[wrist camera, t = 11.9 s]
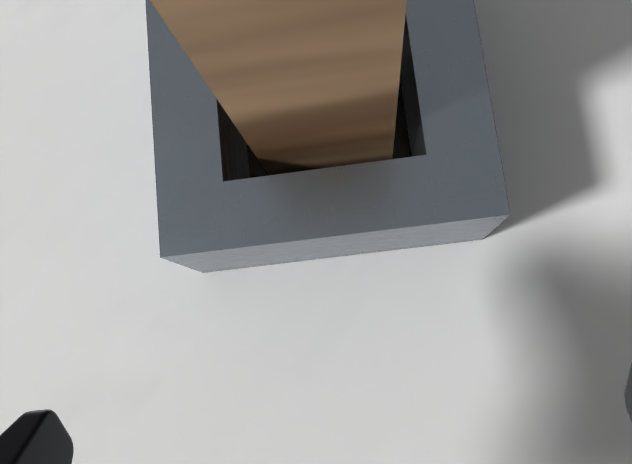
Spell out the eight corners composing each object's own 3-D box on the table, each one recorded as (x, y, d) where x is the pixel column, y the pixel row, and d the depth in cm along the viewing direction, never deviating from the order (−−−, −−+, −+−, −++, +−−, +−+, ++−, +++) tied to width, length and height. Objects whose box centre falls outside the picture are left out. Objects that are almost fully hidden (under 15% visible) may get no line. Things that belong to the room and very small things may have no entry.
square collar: (482, 239, 19) (510, 214, 15) (203, 272, 20) (160, 257, 16) (441, -19, 21) (456, -101, 17) (185, 21, 21) (143, -49, 18)
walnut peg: (391, 170, 20) (418, -130, 7) (275, 185, 20) (99, -75, 7) (376, 61, 20) (376, -389, 8) (265, 77, 21) (89, -329, 8)
